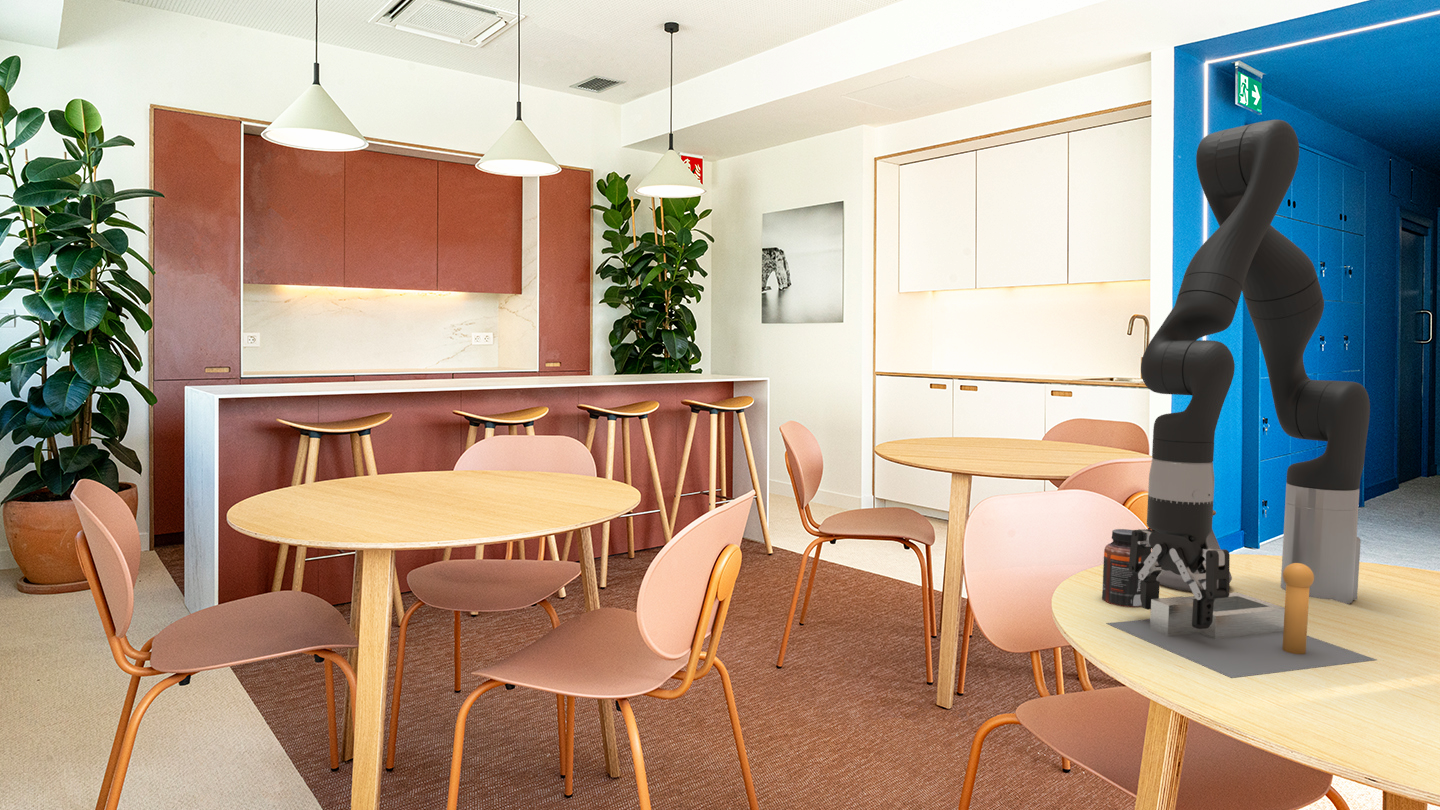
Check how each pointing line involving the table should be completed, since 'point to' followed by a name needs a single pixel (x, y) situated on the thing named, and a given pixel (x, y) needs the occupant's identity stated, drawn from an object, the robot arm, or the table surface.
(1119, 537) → the supplement bottle
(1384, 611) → the table surface
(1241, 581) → the table surface
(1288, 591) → the pin
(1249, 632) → the steel link
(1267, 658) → the rubber mat
